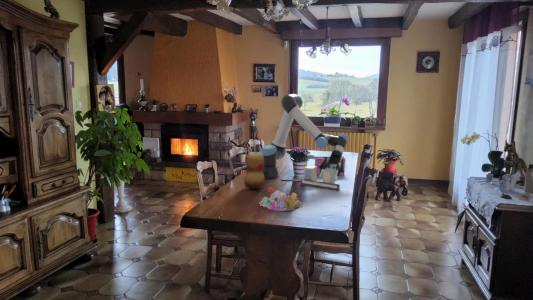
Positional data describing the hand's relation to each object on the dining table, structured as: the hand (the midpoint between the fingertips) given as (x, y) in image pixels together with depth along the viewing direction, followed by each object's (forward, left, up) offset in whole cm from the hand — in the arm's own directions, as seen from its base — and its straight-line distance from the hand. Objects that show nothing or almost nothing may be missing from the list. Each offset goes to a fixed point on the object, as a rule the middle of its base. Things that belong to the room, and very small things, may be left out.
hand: (327, 178), depth 258 cm
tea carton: (+2, +1, -6) cm, 7 cm away
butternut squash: (-47, +18, -6) cm, 51 cm away
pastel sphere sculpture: (-49, -20, -7) cm, 53 cm away
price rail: (-5, +2, -6) cm, 8 cm away
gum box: (+25, +31, -6) cm, 41 cm away
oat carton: (-5, +13, -6) cm, 16 cm away
